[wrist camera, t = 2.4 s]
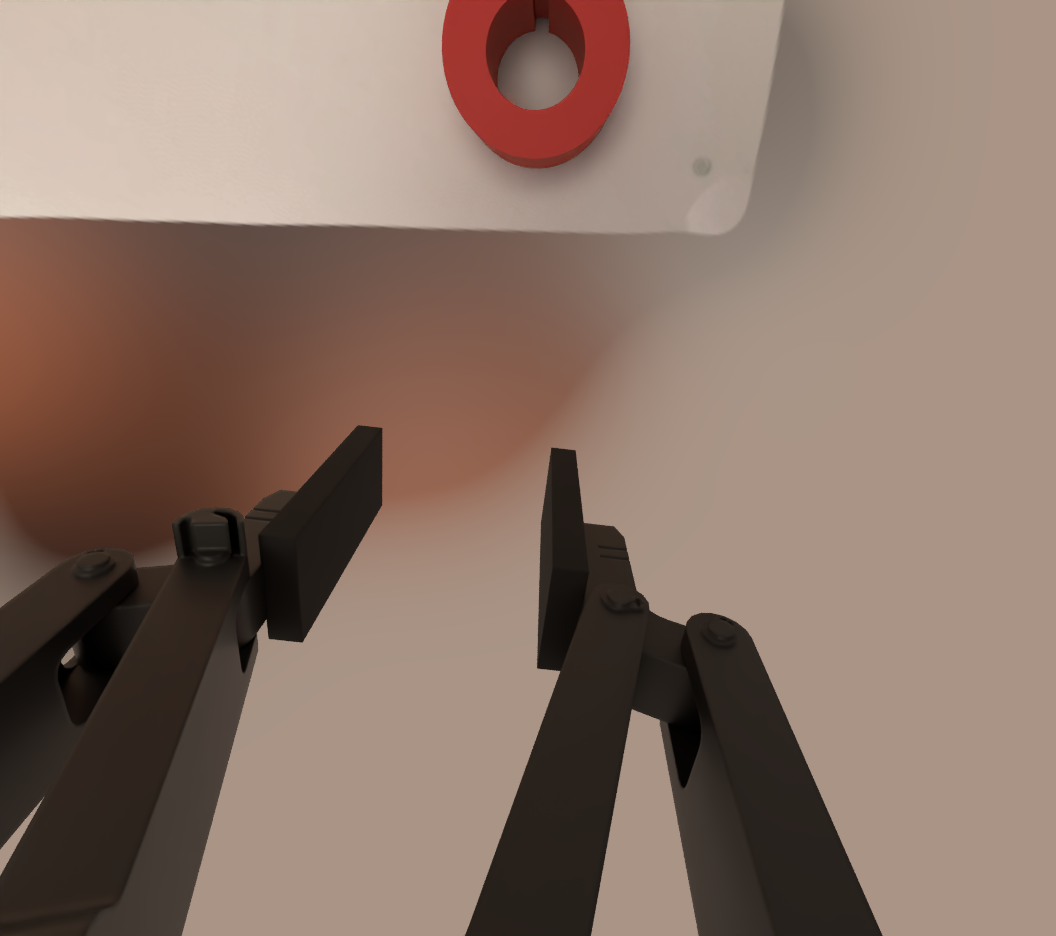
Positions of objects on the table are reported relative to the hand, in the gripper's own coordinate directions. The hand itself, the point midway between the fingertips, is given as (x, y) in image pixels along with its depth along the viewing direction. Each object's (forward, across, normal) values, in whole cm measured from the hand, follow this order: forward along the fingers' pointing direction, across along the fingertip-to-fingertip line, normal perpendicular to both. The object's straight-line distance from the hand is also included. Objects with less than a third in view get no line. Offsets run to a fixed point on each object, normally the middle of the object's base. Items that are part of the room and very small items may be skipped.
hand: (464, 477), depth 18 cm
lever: (+25, 0, +20) cm, 32 cm away
